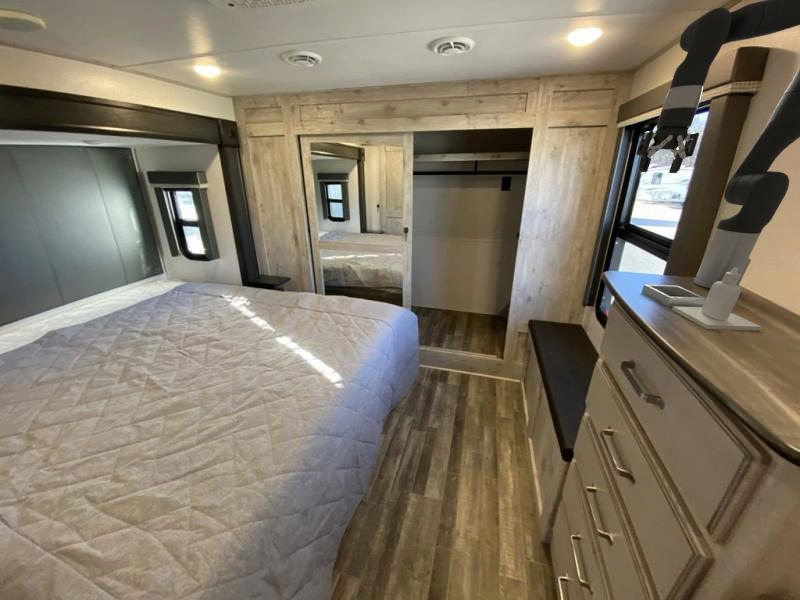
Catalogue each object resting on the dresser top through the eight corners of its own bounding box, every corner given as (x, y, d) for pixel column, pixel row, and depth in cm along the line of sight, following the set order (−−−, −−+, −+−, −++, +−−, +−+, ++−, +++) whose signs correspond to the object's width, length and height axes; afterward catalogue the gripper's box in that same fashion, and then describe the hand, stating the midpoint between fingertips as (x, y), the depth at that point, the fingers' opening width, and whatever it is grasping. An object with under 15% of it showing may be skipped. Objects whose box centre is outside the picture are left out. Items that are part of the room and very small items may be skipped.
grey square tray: (674, 293, 91) (677, 285, 90) (703, 307, 82) (707, 298, 81) (641, 292, 91) (644, 284, 90) (666, 306, 82) (669, 297, 81)
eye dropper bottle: (723, 314, 76) (746, 267, 71) (727, 322, 72) (752, 273, 67) (700, 309, 78) (720, 263, 74) (702, 317, 74) (724, 268, 70)
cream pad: (719, 311, 80) (721, 308, 80) (759, 330, 71) (761, 326, 71) (672, 309, 80) (673, 306, 80) (706, 328, 71) (707, 324, 71)
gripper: (663, 105, 81) (642, 172, 88) (718, 106, 81) (693, 173, 88) (643, 109, 88) (625, 171, 95) (694, 110, 88) (672, 173, 95)
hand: (658, 172), depth 91 cm, fingers open, 8 cm apart
